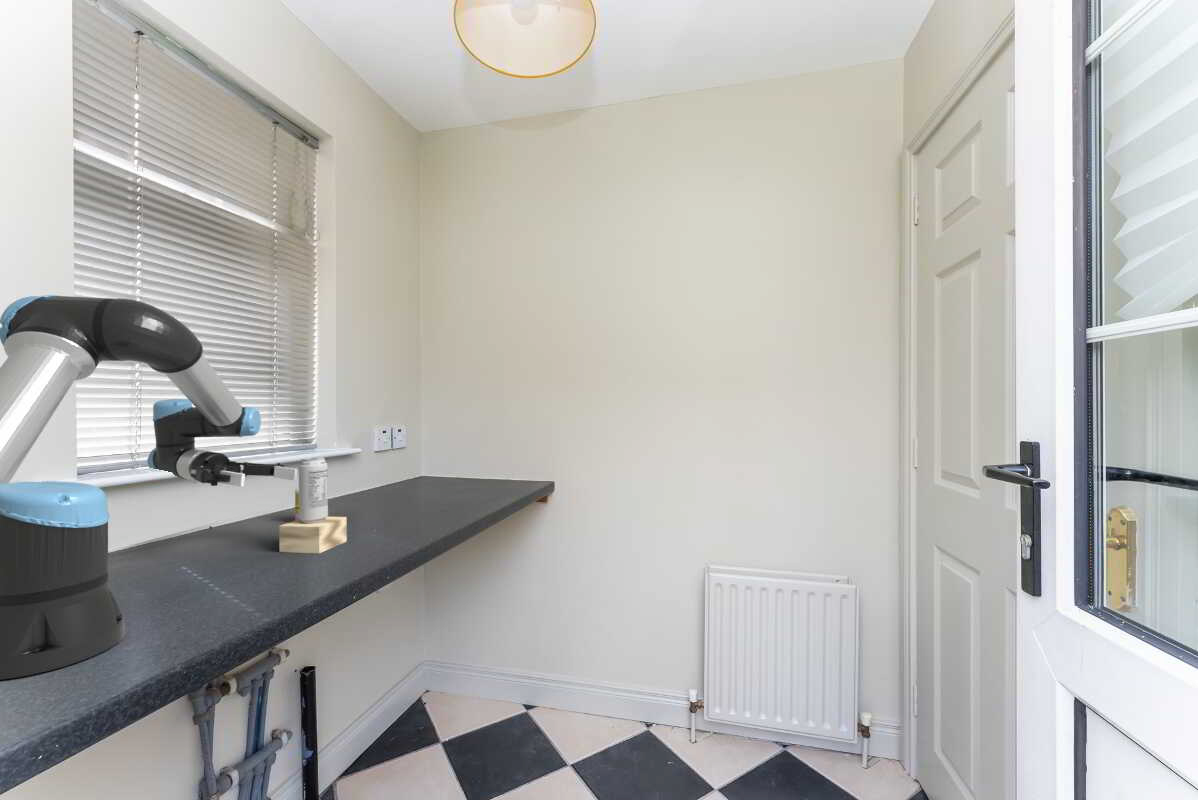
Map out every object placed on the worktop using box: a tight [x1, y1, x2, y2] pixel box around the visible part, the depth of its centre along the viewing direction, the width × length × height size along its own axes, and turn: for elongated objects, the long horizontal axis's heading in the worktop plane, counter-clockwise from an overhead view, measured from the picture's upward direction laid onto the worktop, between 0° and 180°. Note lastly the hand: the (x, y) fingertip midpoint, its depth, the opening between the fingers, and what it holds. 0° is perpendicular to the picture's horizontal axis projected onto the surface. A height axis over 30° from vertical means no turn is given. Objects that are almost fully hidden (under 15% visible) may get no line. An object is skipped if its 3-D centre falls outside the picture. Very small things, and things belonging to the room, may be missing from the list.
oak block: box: [278, 516, 348, 554], centre depth 123 cm, size 10×10×6 cm
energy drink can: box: [298, 456, 329, 524], centre depth 123 cm, size 6×6×15 cm
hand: (270, 477), depth 121 cm, fingers open, 13 cm apart
